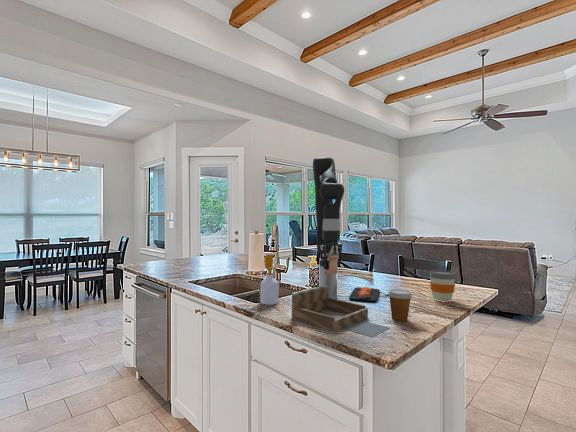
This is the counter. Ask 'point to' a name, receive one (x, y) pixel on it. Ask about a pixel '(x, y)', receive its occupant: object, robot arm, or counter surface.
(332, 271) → the terracotta pot
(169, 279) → the counter surface
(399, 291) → the disposable coffee cup
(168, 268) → the counter surface
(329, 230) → the robot arm
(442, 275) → the reusable coffee cup
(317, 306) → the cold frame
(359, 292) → the sushi plate
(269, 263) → the soap bottle
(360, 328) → the slate mat
